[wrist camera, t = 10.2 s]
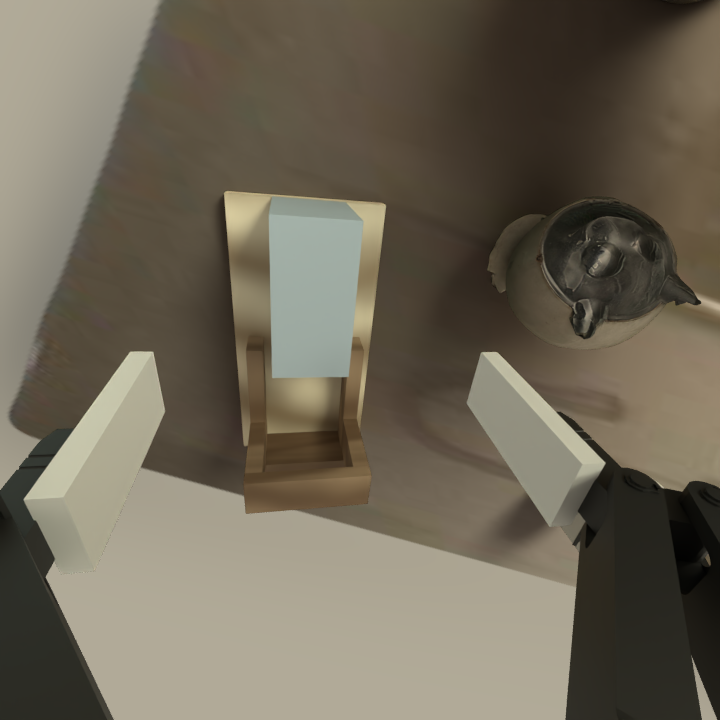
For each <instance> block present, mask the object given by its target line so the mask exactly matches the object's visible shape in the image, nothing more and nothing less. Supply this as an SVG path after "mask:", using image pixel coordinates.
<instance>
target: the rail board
mask: <svg viewBox="0 0 720 720" xmlns="http://www.w3.org/2000/svg"><path fill="white" fill-rule="evenodd" d="M272 196H274V197H287V198H299V199H312V200H324V201H337V202H346V203H347V204H348V205H349V206H350V207H351V208H352V209H353V210H354V212H355V213H356V214H357V215H358V216H359V217H360V218H361V219H362V220H363V221H364V222H363V232H362V243H361V253H360V264H359V274H358V285H357V295H356V306H355V316H354V327H353V337H352V347H351V358H350V368H349V377H304V378H272V345H271V298H270V251H269V210H270V205H271V200H272ZM224 198H225V211H226V224H227V237H228V250H229V263H230V275H231V288H232V301H233V314H234V327H235V339H236V352H237V365H238V378H239V391H240V403H241V416H242V429H243V442H244V446H248V449H247V457H246V466H245V475H244V483H243V486H244V498H245V509H246V514H249V513H260V512H272V511H284V510H297V509H310V508H322V507H334V506H346V505H358V504H367V503H368V497H369V490H370V483H371V476H372V475H371V472H370V468H369V464H368V460H367V456H366V452H365V449H364V445H363V441H362V437H361V433H360V424H361V415H362V407H363V398H364V390H365V381H366V373H367V364H368V355H369V347H370V338H371V330H372V321H373V313H374V304H375V296H376V287H377V279H378V270H379V261H380V253H381V244H382V236H383V227H384V219H385V210H386V205H385V204H383V203H378V202H365V201H351V200H338V199H325V198H312V197H299V196H286V195H272V194H259V193H246V192H233V191H226V192H225V193H224Z"/></svg>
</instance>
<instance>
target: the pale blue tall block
mask: <svg viewBox="0 0 720 720" xmlns="http://www.w3.org/2000/svg"><path fill="white" fill-rule="evenodd" d="M363 222H364V221H363V220H362V219H361V218H360V217H359V216H358V215H357V214H356V213H355V212H354V210H353V209H352V208H351V207H350V206H349V205H348V204H347V203H346V202H337V201H324V200H312V199H299V198H287V197H274V196H272V200H271V205H270V210H269V251H270V298H271V345H272V378H304V377H349V368H350V358H351V347H352V337H353V327H354V316H355V306H356V295H357V285H358V274H359V264H360V253H361V243H362V232H363Z"/></svg>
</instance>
